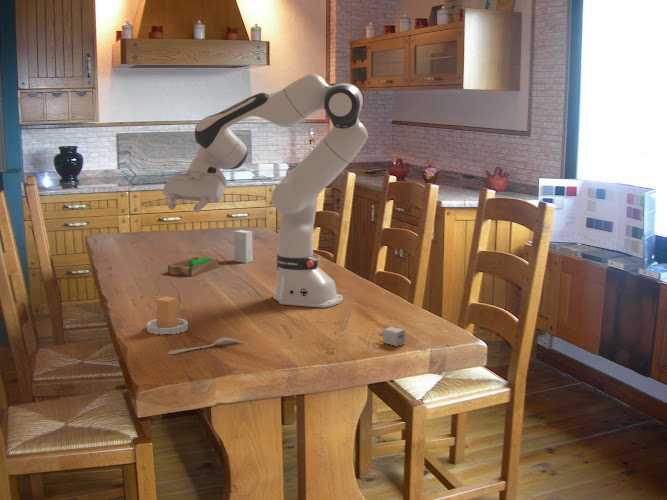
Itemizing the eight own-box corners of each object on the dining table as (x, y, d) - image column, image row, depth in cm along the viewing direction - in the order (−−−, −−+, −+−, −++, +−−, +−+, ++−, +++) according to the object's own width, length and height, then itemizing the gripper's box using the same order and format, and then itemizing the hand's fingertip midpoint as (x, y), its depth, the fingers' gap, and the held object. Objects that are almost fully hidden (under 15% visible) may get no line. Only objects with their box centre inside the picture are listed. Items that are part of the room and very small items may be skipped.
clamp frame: (219, 266, 293) (219, 259, 293) (190, 276, 277) (190, 268, 276) (196, 264, 297) (196, 256, 297) (167, 273, 281) (166, 265, 280)
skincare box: (253, 261, 304) (252, 231, 301) (246, 263, 300) (245, 232, 298) (240, 259, 307) (240, 229, 304) (234, 261, 303) (233, 231, 301)
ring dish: (195, 326, 218) (195, 320, 218) (171, 336, 208) (171, 331, 208) (163, 321, 222) (163, 315, 222) (138, 331, 213) (138, 325, 212)
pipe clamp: (202, 268, 291) (201, 256, 291) (210, 269, 290) (210, 257, 289) (184, 274, 281) (184, 261, 281) (193, 275, 280) (192, 262, 279)
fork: (166, 362, 196) (164, 352, 196) (241, 341, 206) (240, 332, 205) (169, 365, 194) (168, 355, 193) (245, 344, 204) (244, 334, 203)
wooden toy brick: (177, 325, 216) (176, 298, 215) (169, 329, 213) (168, 301, 211) (166, 323, 218) (165, 296, 216) (157, 327, 214) (156, 299, 213)
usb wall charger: (395, 347, 202) (396, 332, 201) (375, 341, 207) (375, 327, 206) (405, 344, 205) (405, 329, 204) (384, 338, 209) (384, 324, 209)
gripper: (169, 166, 246) (151, 200, 239) (224, 170, 237) (206, 205, 230) (178, 179, 250) (160, 213, 244) (232, 183, 242) (215, 218, 235)
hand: (183, 209), depth 237 cm, fingers open, 8 cm apart
